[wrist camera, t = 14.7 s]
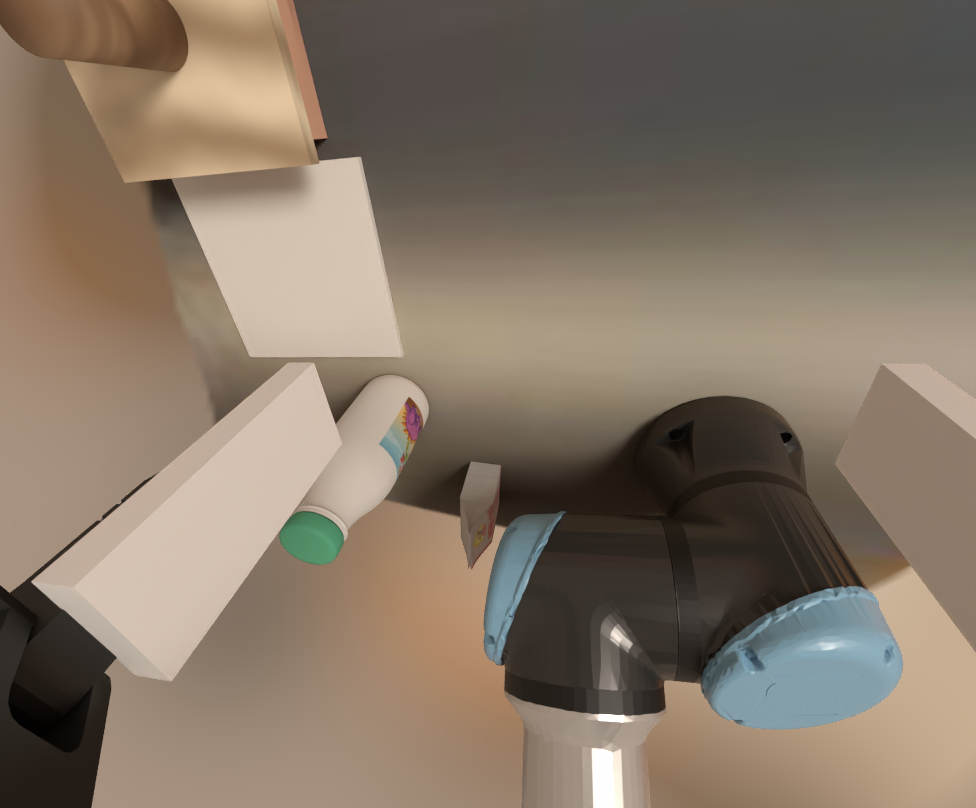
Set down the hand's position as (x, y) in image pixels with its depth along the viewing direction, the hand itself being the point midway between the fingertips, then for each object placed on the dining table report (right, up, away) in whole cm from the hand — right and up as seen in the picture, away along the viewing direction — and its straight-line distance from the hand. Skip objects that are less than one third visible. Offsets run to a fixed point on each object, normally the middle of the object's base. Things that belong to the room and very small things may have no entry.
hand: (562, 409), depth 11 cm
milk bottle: (-12, 0, +38) cm, 39 cm away
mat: (-20, +13, +31) cm, 39 cm away
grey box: (-2, -10, +43) cm, 44 cm away
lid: (-23, +24, +17) cm, 38 cm away
